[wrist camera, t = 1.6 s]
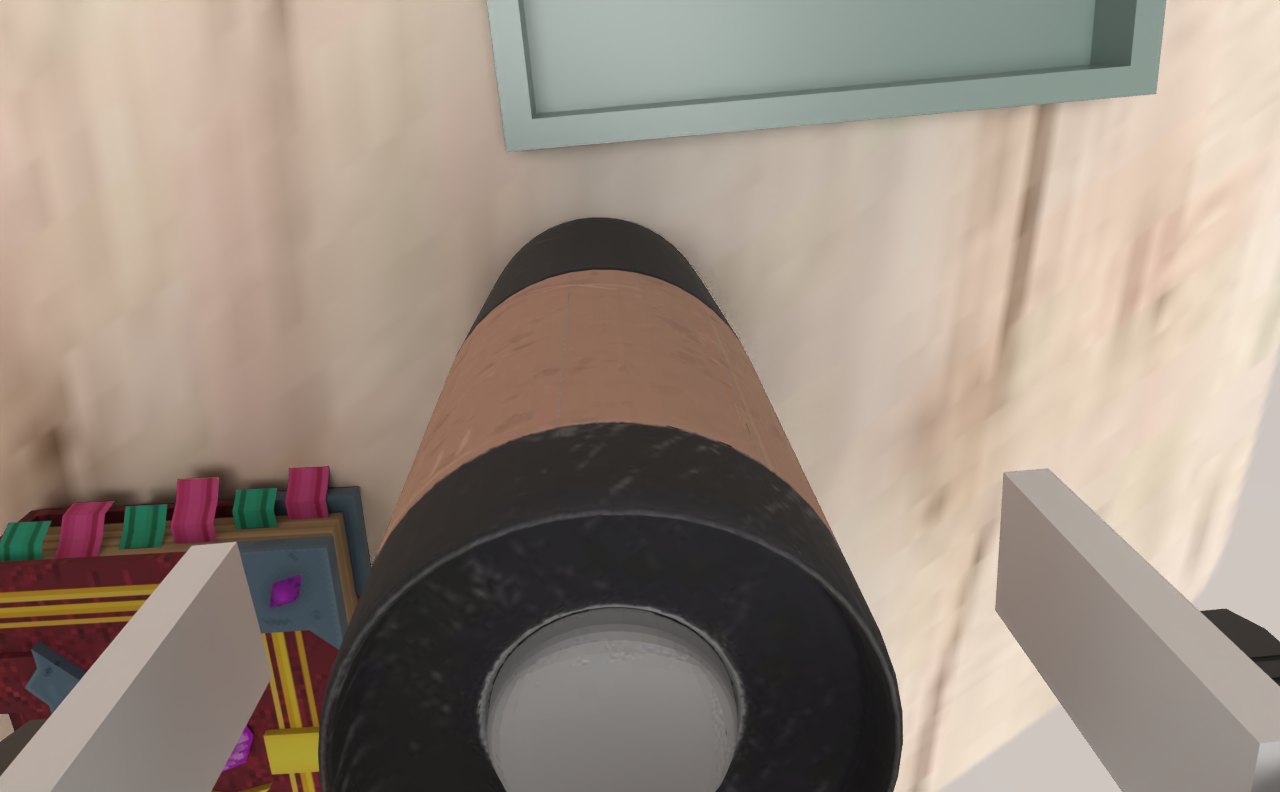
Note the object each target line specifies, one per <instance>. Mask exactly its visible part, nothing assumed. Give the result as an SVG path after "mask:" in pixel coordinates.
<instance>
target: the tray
mask: <svg viewBox="0 0 1280 792" xmlns="http://www.w3.org/2000/svg"><path fill="white" fill-rule="evenodd" d="M487 6H488V14H489V22H490V30H491V38H492V45H493V53H494V61H495V69H496V76H497V84H498V92H499V100H500V107H501V115H502V123H503V131H504V138H505V146H506V152H512V151H523V150H534V149H545V148H557V147H568V146H579V145H590V144H601V143H613V142H624V141H635V140H646V139H657V138H668V137H680V136H691V135H702V134H713V133H724V132H736V131H747V130H758V129H769V128H780V127H792V126H803V125H814V124H825V123H836V122H847V121H859V120H870V119H881V118H892V117H903V116H915V115H926V114H937V113H948V112H959V111H971V110H982V109H993V108H1004V107H1015V106H1026V105H1038V104H1049V103H1060V102H1071V101H1082V100H1094V99H1105V98H1116V97H1127V96H1138V95H1150V94H1156V90H1157V81H1158V71H1159V62H1160V53H1161V44H1162V35H1163V26H1164V16H1165V7H1166V0H487Z"/></svg>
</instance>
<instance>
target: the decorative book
mask: <svg viewBox="0 0 1280 792" xmlns="http://www.w3.org/2000/svg"><path fill="white" fill-rule="evenodd" d="M328 478H329V466H324V467H305V468H289V480H288V487H287V491H280V492H277V488H261V489H242V490H236V495H235V500H226V501H218V488H219V477H208V478H189V479H178V480H177V494H176V503H169V504H150V505H131V506H112V507H111V505H112V504H113V503H114V502H115V501H104V502H85V503H73V504H72V505H71V506H70V508H69V509H56V510H37V511H31V512H29V513H28V514H27V515H26V516H25V517H23V518H22V519H21V520H20V521H19V522H17V523H8V525H7V528H6V530H5V532H4V534H3V535H2V536H1V537H0V714H9V716H10V719H11V722H12V725H13V728H14V731H16V730H17V729H19V728H20V727H21V726H23V725H24V724H26V723H27V722H28V721H30V720H40V719H48V718H49V717H50V716H51V715H52V714H53V712H54V711H55V710H56V709H57V708H58V706H59V705H60V704H61V703H62V701H63V700H64V699H65V698H66V697H67V695H68V694H69V693H70V692H71V691H72V689H73V688H74V687H75V686H76V685H77V683H78V682H79V681H80V680H81V679H82V677H83V676H84V675H85V674H86V673H87V671H88V670H89V669H90V668H91V667H92V665H93V664H94V663H95V662H96V661H97V659H98V658H99V657H100V656H101V655H102V653H103V652H104V651H105V650H106V648H107V647H108V646H109V645H110V644H111V642H112V641H113V640H114V639H115V638H116V636H117V635H118V634H119V633H120V632H121V630H122V629H123V628H124V627H125V626H126V624H127V623H128V622H129V621H130V620H131V618H132V617H133V616H134V615H135V614H136V612H137V611H138V610H139V609H140V608H141V606H142V605H143V604H144V603H145V601H146V600H147V599H148V598H149V597H150V595H151V594H152V593H153V592H154V591H155V589H156V588H157V587H158V586H159V585H160V583H161V582H162V581H163V580H164V579H165V577H166V576H167V575H168V574H169V573H170V571H171V570H172V569H173V568H174V567H175V565H176V564H177V563H178V562H179V561H180V559H181V558H182V557H183V556H184V554H185V553H186V552H187V551H188V550H189V548H190V547H191V546H195V545H206V544H218V543H229V542H237V545H238V549H239V552H240V556H241V560H242V564H243V568H244V571H245V575H246V579H247V583H248V586H249V590H250V594H251V598H252V601H253V605H254V609H255V613H256V617H257V620H258V624H259V628H260V632H261V635H262V639H263V643H264V647H265V650H266V654H267V658H268V662H269V665H270V669H271V673H272V678H271V679H270V681H269V683H268V685H267V687H266V689H265V691H264V693H263V695H262V696H261V698H260V700H259V702H258V704H257V706H256V708H255V710H254V712H253V713H252V715H251V717H250V719H249V721H248V723H247V725H246V727H245V729H244V730H243V732H242V734H241V736H240V738H239V740H238V742H237V744H236V746H235V748H234V749H233V751H232V753H231V755H230V757H229V759H228V761H227V763H226V765H225V766H224V768H223V770H222V772H221V774H220V776H219V778H218V780H217V782H216V783H215V785H214V787H213V789H212V791H211V792H322V790H321V785H320V776H319V763H318V742H319V723H320V715H321V710H322V706H323V701H324V696H325V691H326V687H327V683H328V679H329V676H330V672H331V669H332V667H333V664H334V662H335V659H336V656H337V654H338V651H339V649H340V646H341V643H342V641H343V638H344V636H345V633H346V631H347V628H348V626H349V623H350V621H351V618H352V616H353V613H354V611H355V608H356V606H357V603H358V601H359V598H360V596H361V593H362V591H363V588H364V586H365V583H366V581H367V578H368V576H369V573H370V571H371V566H370V559H369V552H368V545H367V539H366V532H365V525H364V518H363V512H362V505H361V498H360V491H359V487H346V488H329V489H327V486H328Z"/></svg>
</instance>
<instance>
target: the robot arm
mask: <svg viewBox="0 0 1280 792" xmlns="http://www.w3.org/2000/svg"><path fill="white" fill-rule="evenodd" d="M995 610H996V612H997V613H998V615H999V616H1000V617H1001V619H1002V620H1003V622H1004V623H1005V625H1006V626H1007V627H1008V629H1009V630H1010V632H1011V633H1012V635H1013V636H1014V637H1015V639H1016V640H1017V642H1018V643H1019V645H1020V646H1021V647H1022V649H1023V650H1024V652H1025V653H1026V655H1027V656H1028V658H1029V659H1030V660H1031V662H1032V663H1033V665H1034V666H1035V668H1036V669H1037V670H1038V672H1039V673H1040V675H1041V676H1042V678H1043V679H1044V680H1045V682H1046V683H1047V685H1048V686H1049V688H1050V689H1051V690H1052V692H1053V693H1054V695H1055V696H1056V698H1057V699H1058V700H1059V702H1060V703H1061V705H1062V706H1063V708H1064V709H1065V710H1066V712H1067V713H1068V715H1069V716H1070V717H1071V719H1072V720H1073V722H1074V723H1075V725H1076V726H1077V728H1078V729H1079V730H1080V732H1081V733H1082V735H1083V736H1084V738H1085V739H1086V740H1087V742H1088V743H1089V745H1090V746H1091V748H1092V749H1093V751H1094V752H1095V753H1096V755H1097V756H1098V758H1099V759H1100V760H1101V762H1102V763H1103V765H1104V766H1105V767H1106V769H1107V771H1108V772H1109V773H1110V775H1111V776H1112V778H1113V779H1114V781H1115V782H1116V783H1117V785H1118V786H1119V788H1120V789H1121V790H1122V792H1280V642H1279V641H1278V640H1277V639H1276V638H1275V637H1274V636H1273V635H1271V634H1270V633H1269V632H1268V631H1267V630H1266V629H1264V628H1262V627H1260V626H1258V625H1257V624H1255V623H1253V622H1251V621H1249V620H1247V619H1245V618H1243V617H1241V616H1239V615H1237V614H1235V613H1233V612H1231V611H1229V610H1227V609H1217V610H1206V611H1199V610H1198V609H1197V608H1196V607H1195V606H1194V605H1193V604H1192V603H1191V602H1189V601H1188V600H1187V599H1186V598H1185V597H1184V596H1183V595H1182V594H1181V593H1180V592H1179V591H1178V590H1177V589H1176V588H1175V587H1174V586H1172V585H1171V584H1170V583H1169V582H1168V581H1167V580H1166V579H1165V578H1164V577H1163V576H1162V575H1161V574H1160V573H1159V572H1158V571H1157V570H1156V569H1154V568H1153V567H1152V566H1151V565H1150V564H1149V563H1148V562H1147V561H1146V560H1145V559H1144V558H1143V557H1142V556H1141V555H1140V554H1139V553H1137V552H1136V551H1135V550H1134V549H1133V548H1132V547H1131V546H1130V545H1129V544H1128V543H1127V542H1126V541H1125V540H1124V539H1123V538H1122V537H1120V536H1119V535H1118V534H1117V533H1116V532H1115V531H1114V530H1113V529H1112V528H1111V527H1110V526H1109V525H1108V524H1107V523H1106V522H1105V521H1103V520H1102V519H1101V518H1100V517H1099V516H1098V515H1097V514H1096V513H1095V512H1094V511H1093V510H1092V509H1091V508H1090V507H1089V506H1088V505H1087V504H1085V503H1084V502H1083V501H1082V500H1081V499H1080V498H1079V497H1078V496H1077V495H1076V494H1075V493H1074V492H1073V491H1072V490H1071V489H1070V488H1068V487H1067V486H1066V485H1065V484H1064V483H1063V482H1062V481H1061V480H1060V479H1059V478H1058V477H1057V476H1056V475H1055V474H1054V473H1053V472H1051V471H1050V470H1049V469H1037V470H1026V471H1015V472H1004V476H1003V492H1002V509H1001V525H1000V542H999V558H998V575H997V591H996V608H995ZM271 678H272V673H271V669H270V665H269V662H268V658H267V654H266V650H265V647H264V643H263V639H262V635H261V632H260V628H259V624H258V620H257V617H256V613H255V609H254V605H253V601H252V598H251V594H250V590H249V586H248V583H247V579H246V575H245V571H244V568H243V564H242V560H241V556H240V552H239V549H238V545H237V542H229V543H218V544H206V545H195V546H191V547H190V548H189V550H188V551H187V552H186V553H185V554H184V556H183V557H182V558H181V559H180V561H179V562H178V563H177V564H176V565H175V567H174V568H173V569H172V570H171V571H170V573H169V574H168V575H167V576H166V577H165V579H164V580H163V581H162V582H161V583H160V585H159V586H158V587H157V588H156V589H155V591H154V592H153V593H152V594H151V595H150V597H149V598H148V599H147V600H146V601H145V603H144V604H143V605H142V606H141V608H140V609H139V610H138V611H137V612H136V614H135V615H134V616H133V617H132V618H131V620H130V621H129V622H128V623H127V624H126V626H125V627H124V628H123V629H122V630H121V632H120V633H119V634H118V635H117V636H116V638H115V639H114V640H113V641H112V642H111V644H110V645H109V646H108V647H107V648H106V650H105V651H104V652H103V653H102V655H101V656H100V657H99V658H98V659H97V661H96V662H95V663H94V664H93V665H92V667H91V668H90V669H89V670H88V671H87V673H86V674H85V675H84V676H83V677H82V679H81V680H80V681H79V682H78V683H77V685H76V686H75V687H74V688H73V689H72V691H71V692H70V693H69V694H68V695H67V697H66V698H65V699H64V700H63V701H62V703H61V704H60V705H59V706H58V708H57V709H56V710H55V711H54V712H53V714H52V715H51V716H50V717H49V718H48V719H40V720H30V721H28V722H27V723H26V724H24V725H23V726H21V727H20V728H19V729H17V730H16V731H15V732H13V733H12V734H10V735H9V736H8V737H6V738H5V739H4V740H2V741H1V742H0V792H211V791H212V789H213V787H214V785H215V783H216V782H217V780H218V778H219V776H220V774H221V772H222V770H223V768H224V766H225V765H226V763H227V761H228V759H229V757H230V755H231V753H232V751H233V749H234V748H235V746H236V744H237V742H238V740H239V738H240V736H241V734H242V732H243V730H244V729H245V727H246V725H247V723H248V721H249V719H250V717H251V715H252V713H253V712H254V710H255V708H256V706H257V704H258V702H259V700H260V698H261V696H262V695H263V693H264V691H265V689H266V687H267V685H268V683H269V681H270V679H271Z"/></svg>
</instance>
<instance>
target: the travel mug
mask: <svg viewBox="0 0 1280 792" xmlns="http://www.w3.org/2000/svg"><path fill="white" fill-rule="evenodd" d="M902 744H903V722H902V707H901V701H900V696H899V690H898V685H897V679H896V674H895V672H894V669H893V666H892V663H891V660H890V657H889V655H888V652H887V649H886V646H885V643H884V641H883V638H882V635H881V633H880V630H879V628H878V626H877V624H876V622H875V620H874V618H873V616H872V614H871V612H870V610H869V607H868V605H867V603H866V601H865V599H864V597H863V595H862V593H861V591H860V589H859V587H858V585H857V582H856V580H855V578H854V576H853V574H852V572H851V570H850V568H849V566H848V564H847V562H846V560H845V557H844V556H843V554H842V552H841V549H840V547H839V545H838V543H837V541H836V539H835V537H834V535H833V532H832V530H831V528H830V526H829V524H828V522H827V520H826V518H825V516H824V514H823V512H822V510H821V507H820V505H819V503H818V501H817V499H816V497H815V495H814V493H813V491H812V489H811V487H810V484H809V482H808V480H807V478H806V476H805V474H804V472H803V470H802V468H801V466H800V464H799V461H798V459H797V457H796V455H795V453H794V451H793V449H792V447H791V445H790V443H789V441H788V439H787V436H786V434H785V432H784V430H783V428H782V426H781V424H780V422H779V420H778V418H777V416H776V413H775V411H774V409H773V407H772V405H771V403H770V401H769V399H768V397H767V395H766V393H765V390H764V388H763V386H762V384H761V382H760V380H759V378H758V376H757V374H756V372H755V370H754V367H753V365H752V363H751V361H750V359H749V357H748V356H747V354H746V352H745V350H744V348H743V346H742V344H741V343H740V341H739V339H738V338H737V336H736V334H735V333H734V331H733V330H732V328H731V327H730V325H729V323H728V322H727V320H726V319H725V317H724V316H723V314H722V312H721V311H720V309H719V308H718V306H717V305H716V303H715V301H714V300H713V298H712V297H711V295H710V294H709V292H708V290H707V289H706V287H705V286H704V284H703V283H702V281H701V279H700V278H699V276H698V275H697V274H696V272H695V271H694V269H693V268H692V267H691V265H690V264H689V263H688V261H687V260H686V258H685V257H684V256H683V255H682V254H681V253H680V252H679V251H678V250H677V249H676V248H675V247H674V246H673V245H671V244H670V243H669V242H668V241H666V240H665V239H664V238H663V237H661V236H659V235H658V234H656V233H654V232H653V231H651V230H649V229H647V228H644V227H642V226H640V225H637V224H634V223H631V222H627V221H624V220H618V219H611V218H587V219H578V220H574V221H570V222H566V223H563V224H560V225H558V226H556V227H553V228H551V229H549V230H547V231H545V232H543V233H542V234H540V235H538V236H537V237H535V238H534V239H533V240H531V241H530V242H529V243H527V244H526V245H525V246H524V247H523V248H522V249H521V250H520V251H519V252H518V253H517V254H516V255H515V256H514V257H513V258H512V260H511V261H510V262H509V264H508V265H507V266H506V268H505V269H504V271H503V272H502V274H501V276H500V277H499V279H498V281H497V283H496V284H495V286H494V288H493V290H492V292H491V293H490V295H489V297H488V299H487V301H486V303H485V304H484V306H483V308H482V310H481V312H480V314H479V315H478V317H477V319H476V321H475V323H474V324H473V326H472V328H471V330H470V332H469V334H468V335H467V337H466V339H465V341H464V343H463V345H462V346H461V348H460V350H459V352H458V354H457V356H456V358H455V360H454V362H453V365H452V367H451V370H450V372H449V375H448V377H447V380H446V382H445V385H444V387H443V390H442V392H441V395H440V397H439V400H438V402H437V405H436V407H435V410H434V412H433V415H432V417H431V420H430V422H429V425H428V427H427V430H426V433H425V435H424V438H423V440H422V443H421V445H420V448H419V450H418V453H417V455H416V458H415V460H414V463H413V465H412V468H411V470H410V473H409V475H408V478H407V480H406V483H405V485H404V488H403V490H402V493H401V495H400V498H399V500H398V503H397V505H396V508H395V510H394V513H393V515H392V518H391V521H390V523H389V526H388V528H387V531H386V533H385V536H384V538H383V541H382V543H381V546H380V548H379V551H378V553H377V556H376V558H375V561H374V563H373V566H372V568H371V571H370V573H369V576H368V578H367V581H366V583H365V586H364V588H363V591H362V593H361V596H360V598H359V601H358V603H357V606H356V608H355V611H354V613H353V616H352V618H351V621H350V623H349V626H348V628H347V631H346V633H345V636H344V638H343V641H342V643H341V646H340V649H339V651H338V654H337V656H336V659H335V662H334V664H333V667H332V669H331V672H330V676H329V679H328V683H327V687H326V691H325V696H324V701H323V706H322V710H321V715H320V723H319V742H318V763H319V776H320V785H321V790H322V792H893V791H894V787H895V784H896V781H897V778H898V772H899V765H900V758H901V751H902Z"/></svg>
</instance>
